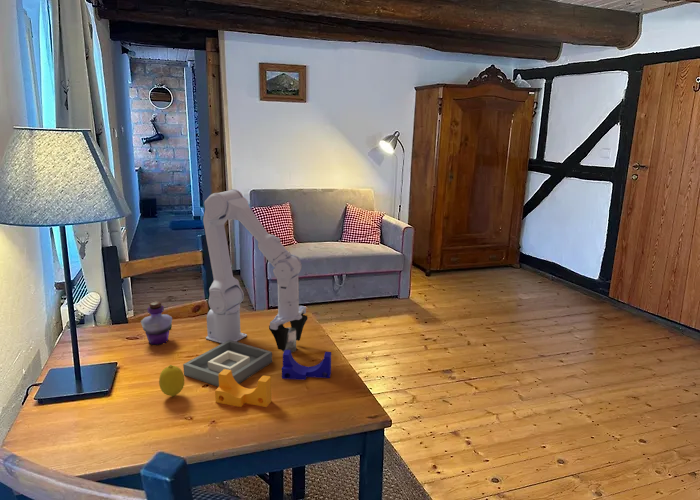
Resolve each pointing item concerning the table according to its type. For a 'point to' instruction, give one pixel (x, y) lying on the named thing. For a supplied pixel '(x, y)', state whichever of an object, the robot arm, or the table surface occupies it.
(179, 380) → the lemon
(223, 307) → the robot arm
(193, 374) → the walled tray
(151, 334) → the potion bottle
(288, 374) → the blue cradle block
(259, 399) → the pipe clamp
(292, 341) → the metal peg
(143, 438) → the table surface
